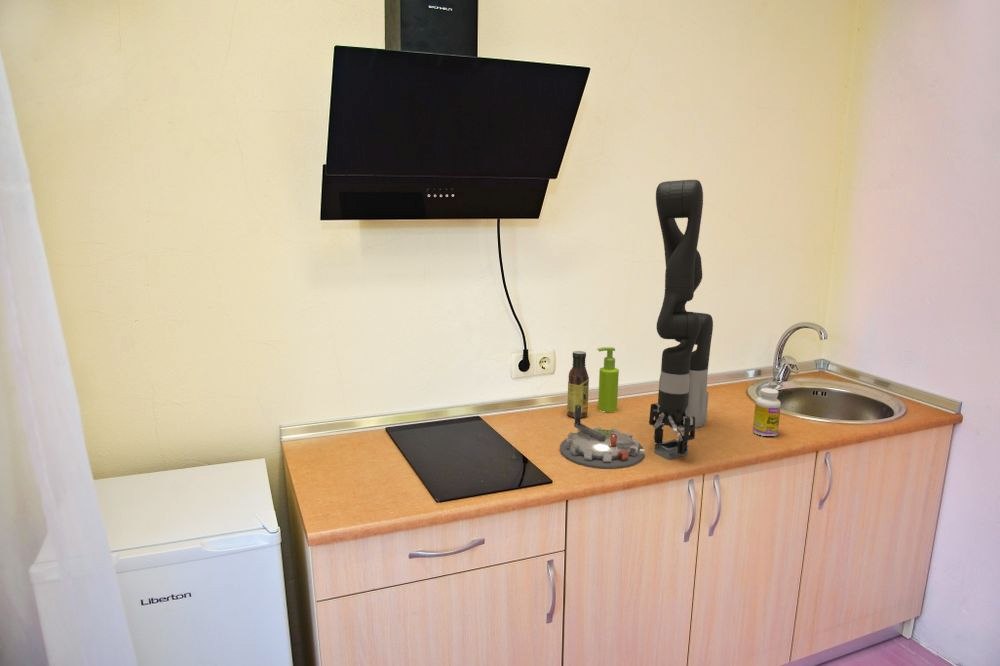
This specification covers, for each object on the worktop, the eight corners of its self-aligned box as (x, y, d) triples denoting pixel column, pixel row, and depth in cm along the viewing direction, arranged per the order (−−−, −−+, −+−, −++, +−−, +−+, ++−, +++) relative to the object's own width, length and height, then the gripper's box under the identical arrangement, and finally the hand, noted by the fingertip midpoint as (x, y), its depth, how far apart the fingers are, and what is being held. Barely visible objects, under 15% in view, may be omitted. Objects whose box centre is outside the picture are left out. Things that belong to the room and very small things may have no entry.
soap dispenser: (592, 406, 206) (595, 345, 202) (613, 406, 207) (616, 345, 202) (597, 413, 200) (599, 350, 196) (619, 412, 201) (622, 349, 197)
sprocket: (602, 427, 185) (603, 400, 183) (653, 453, 167) (655, 423, 165) (547, 438, 176) (548, 410, 174) (595, 467, 158) (596, 436, 156)
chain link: (674, 448, 173) (674, 439, 173) (687, 454, 169) (688, 445, 169) (654, 452, 170) (654, 444, 169) (667, 459, 166) (668, 450, 165)
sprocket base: (608, 430, 185) (608, 425, 185) (662, 458, 167) (662, 452, 166) (543, 444, 175) (544, 439, 175) (593, 475, 156) (594, 469, 156)
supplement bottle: (765, 439, 180) (769, 395, 177) (747, 431, 186) (751, 388, 183) (783, 435, 183) (787, 392, 180) (764, 428, 188) (769, 385, 186)
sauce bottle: (586, 419, 194) (589, 355, 190) (566, 418, 196) (567, 354, 191) (588, 412, 201) (590, 350, 196) (568, 411, 202) (570, 349, 198)
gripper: (705, 393, 161) (700, 455, 165) (665, 379, 174) (661, 436, 177) (683, 397, 158) (678, 460, 161) (644, 383, 170) (640, 441, 173)
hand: (669, 448), depth 169 cm, fingers open, 8 cm apart
